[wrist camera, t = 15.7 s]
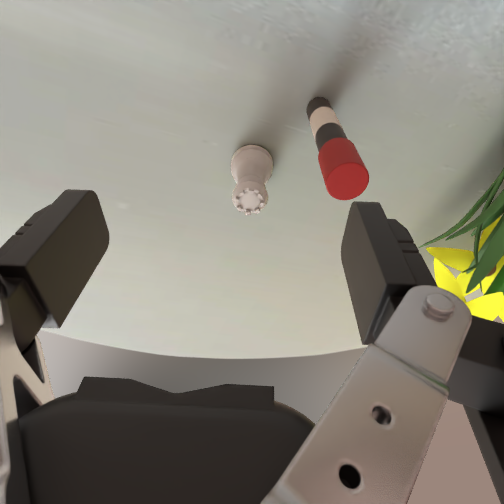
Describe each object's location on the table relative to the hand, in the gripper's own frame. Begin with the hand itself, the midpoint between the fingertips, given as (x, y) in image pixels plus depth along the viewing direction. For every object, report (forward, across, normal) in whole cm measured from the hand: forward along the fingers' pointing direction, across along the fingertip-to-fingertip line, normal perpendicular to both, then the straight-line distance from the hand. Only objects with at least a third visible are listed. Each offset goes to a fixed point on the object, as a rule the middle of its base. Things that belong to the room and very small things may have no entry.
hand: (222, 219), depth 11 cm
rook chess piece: (+24, 0, +9) cm, 26 cm away
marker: (+24, -6, +4) cm, 25 cm away
